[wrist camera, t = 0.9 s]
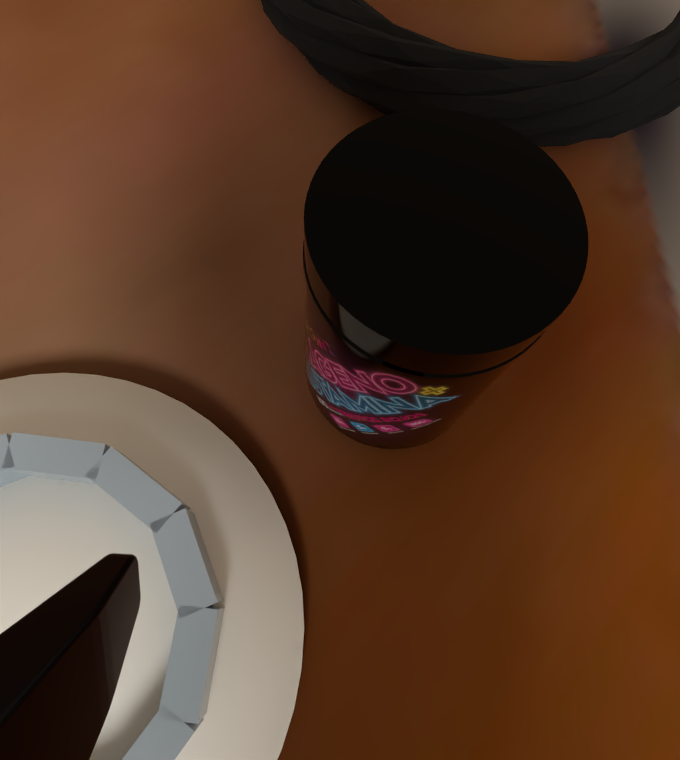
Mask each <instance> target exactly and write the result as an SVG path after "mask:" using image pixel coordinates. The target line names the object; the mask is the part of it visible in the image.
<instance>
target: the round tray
mask: <svg viewBox="0 0 680 760" xmlns="http://www.w3.org/2000/svg"><path fill="white" fill-rule="evenodd" d="M111 553H119V554H133V555H134V556H136V557H137V560H138V566H139V579H140V592H141V599H140V606H139V611H138V615H137V618H136V621H135V625H134V628H133V632H132V635H131V639H130V642H129V646H128V649H127V652H126V656H125V659H124V663H123V666H122V670H121V673H120V677H119V680H118V683H117V687H116V690H115V694H114V697H113V700H112V703H111V706H110V709H109V712H108V715H107V717H106V720H105V722H104V725H103V728H102V730H101V732H100V735H99V737H98V740H97V742H96V745H95V747H94V749H93V752H92V754H91V757H90V759H89V760H277V759H278V757H279V755H280V752H281V750H282V747H283V744H284V740H285V737H286V734H287V731H288V727H289V724H290V721H291V718H292V714H293V711H294V707H295V702H296V696H297V691H298V686H299V680H300V675H301V669H302V655H303V640H304V612H303V594H302V586H301V581H300V575H299V570H298V564H297V559H296V555H295V551H294V548H293V545H292V542H291V539H290V536H289V533H288V529H287V526H286V524H285V521H284V519H283V517H282V515H281V513H280V511H279V508H278V506H277V504H276V502H275V500H274V498H273V496H272V494H271V492H270V490H269V489H268V487H267V485H266V484H265V482H264V481H263V479H262V478H261V476H260V475H259V473H258V472H257V470H256V468H255V467H254V465H253V464H252V463H251V462H250V461H249V459H248V458H247V457H246V456H245V455H244V454H243V452H242V451H241V450H240V449H239V448H238V447H237V445H236V444H235V443H234V442H233V441H232V440H231V439H230V438H229V437H228V436H226V435H225V434H224V433H223V432H222V431H221V430H220V429H218V428H217V427H216V426H215V425H214V424H213V423H212V422H211V421H209V420H208V419H206V418H205V417H203V416H202V415H200V414H199V413H197V412H196V411H194V410H193V409H191V408H190V407H188V406H187V405H185V404H184V403H182V402H180V401H178V400H175V399H173V398H171V397H169V396H167V395H165V394H163V393H161V392H159V391H157V390H154V389H151V388H148V387H145V386H142V385H139V384H136V383H133V382H130V381H126V380H121V379H116V378H111V377H106V376H100V375H93V374H77V373H50V374H32V375H26V376H20V377H14V378H9V379H3V380H0V634H1V633H2V632H4V631H5V630H6V629H8V628H9V627H10V626H12V625H13V624H14V623H16V622H17V621H18V620H20V619H21V618H22V617H24V616H25V615H26V614H28V613H29V612H31V611H32V610H33V609H35V608H36V607H37V606H39V605H40V604H41V603H43V602H44V601H45V600H47V599H48V598H49V597H51V596H52V595H53V594H55V593H56V592H58V591H59V590H60V589H62V588H63V587H64V586H66V585H67V584H68V583H70V582H71V581H72V580H74V579H75V578H76V577H78V576H79V575H80V574H82V573H83V572H85V571H86V570H87V569H89V568H90V567H91V566H93V565H94V564H95V563H97V562H98V561H99V560H101V559H102V558H103V557H105V556H106V555H108V554H111Z"/></svg>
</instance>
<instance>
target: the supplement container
mask: <svg viewBox="0 0 680 760" xmlns="http://www.w3.org/2000/svg"><path fill="white" fill-rule="evenodd" d="M587 257H588V231H587V225H586V220H585V216H584V212H583V209H582V206H581V204H580V201H579V199H578V196H577V194H576V192H575V190H574V189H573V187H572V185H571V183H570V182H569V180H568V179H567V177H566V176H565V174H564V173H563V171H562V170H561V169H560V168H559V167H558V165H557V164H556V163H555V162H554V161H553V160H552V159H551V158H550V157H549V156H548V155H547V154H546V153H545V152H544V151H543V150H542V149H541V148H539V147H538V146H537V145H536V144H535V143H533V142H532V141H530V140H529V139H527V138H526V137H525V136H523V135H521V134H520V133H518V132H516V131H515V130H513V129H511V128H509V127H507V126H505V125H503V124H501V123H498V122H496V121H493V120H491V119H488V118H485V117H482V116H479V115H475V114H471V113H467V112H462V111H455V110H448V109H417V110H409V111H403V112H398V113H394V114H390V115H387V116H384V117H381V118H378V119H376V120H373V121H371V122H369V123H367V124H365V125H363V126H361V127H359V128H358V129H356V130H354V131H353V132H351V133H350V134H348V135H347V136H346V137H345V138H343V139H342V140H341V141H340V142H339V143H338V144H337V145H336V146H335V147H334V148H333V149H332V150H331V151H330V152H329V153H328V154H327V156H326V157H325V158H324V159H323V161H322V162H321V164H320V165H319V167H318V169H317V170H316V172H315V174H314V177H313V179H312V181H311V183H310V186H309V190H308V193H307V197H306V202H305V209H304V243H303V267H304V274H305V280H306V375H307V381H308V385H309V389H310V392H311V395H312V397H313V399H314V401H315V403H316V405H317V407H318V408H319V410H320V411H321V413H322V414H323V415H324V417H325V418H326V419H327V420H328V421H329V422H330V423H331V424H332V425H333V426H334V427H335V428H336V429H338V430H339V431H340V432H341V433H343V434H345V435H346V436H348V437H349V438H351V439H353V440H355V441H357V442H360V443H362V444H365V445H369V446H372V447H377V448H383V449H404V448H410V447H415V446H418V445H421V444H424V443H427V442H429V441H431V440H433V439H435V438H436V437H438V436H440V435H441V434H443V433H444V432H445V431H446V430H448V429H449V428H450V427H451V426H452V425H453V424H454V423H455V422H456V421H457V420H458V419H459V418H460V417H461V415H462V414H463V413H464V412H465V411H466V410H467V409H468V408H469V407H470V406H471V405H472V404H473V403H474V402H475V401H476V400H477V399H478V398H479V397H480V396H481V395H482V394H483V393H484V392H485V391H486V389H487V388H488V387H489V386H490V385H491V384H492V383H493V382H494V381H495V380H496V379H497V378H498V377H499V376H500V375H501V374H502V373H503V372H504V371H505V370H506V369H507V368H508V367H509V366H510V365H511V363H512V362H513V361H514V360H516V359H517V358H518V357H520V356H521V355H522V354H523V353H525V352H526V351H527V350H528V349H529V348H530V347H531V346H532V345H533V344H534V343H535V342H536V341H537V340H538V339H539V338H540V337H541V335H542V334H543V333H544V332H545V330H546V329H547V328H548V327H549V326H550V325H551V324H552V323H553V322H554V321H555V320H556V319H557V318H558V317H559V316H560V315H561V314H562V312H563V311H564V310H565V309H566V307H567V306H568V305H569V304H570V302H571V300H572V299H573V297H574V295H575V294H576V292H577V290H578V288H579V286H580V283H581V281H582V278H583V275H584V272H585V268H586V263H587Z"/></svg>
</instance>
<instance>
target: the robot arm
mask: <svg viewBox="0 0 680 760" xmlns="http://www.w3.org/2000/svg"><path fill="white" fill-rule="evenodd" d="M140 599H141V592H140V579H139V566H138V560H137V557H136V556H134V555H133V554H119V553H111V554H108V555H106V556H105V557H103V558H102V559H101V560H99V561H98V562H97V563H95V564H94V565H93V566H91V567H90V568H89V569H87V570H86V571H85V572H83V573H82V574H80V575H79V576H78V577H76V578H75V579H74V580H72V581H71V582H70V583H68V584H67V585H66V586H64V587H63V588H62V589H60V590H59V591H58V592H56V593H55V594H53V595H52V596H51V597H49V598H48V599H47V600H45V601H44V602H43V603H41V604H40V605H39V606H37V607H36V608H35V609H33V610H32V611H31V612H29V613H28V614H26V615H25V616H24V617H22V618H21V619H20V620H18V621H17V622H16V623H14V624H13V625H12V626H10V627H9V628H8V629H6V630H5V631H4V632H2V633H1V634H0V760H89V759H90V757H91V754H92V752H93V749H94V747H95V745H96V742H97V740H98V737H99V735H100V732H101V730H102V728H103V725H104V722H105V720H106V717H107V715H108V712H109V709H110V706H111V703H112V700H113V697H114V694H115V690H116V687H117V683H118V680H119V677H120V673H121V670H122V666H123V663H124V659H125V656H126V652H127V649H128V646H129V642H130V639H131V635H132V632H133V628H134V625H135V621H136V618H137V615H138V611H139V606H140Z"/></svg>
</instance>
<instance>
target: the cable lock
mask: <svg viewBox="0 0 680 760" xmlns="http://www.w3.org/2000/svg"><path fill="white" fill-rule="evenodd" d="M261 1H262V5H263V8H264V12H265V13H266V14H267V16H268V17H269V19H270V20H271V21H272V23H273V24H274V26H275V27H276V28H277V30H278V31H279V33H280V34H281V35H283V36H284V37H285V38H287V39H288V40H289V41H291V42H292V43H293V44H295V45H296V46H297V48H298V49H299V50H300V51H301V53H302V54H303V55H304V56H305V57H306V59H307V60H308V61H309V62H310V63H311V65H312V66H313V67H314V68H315V69H316V71H317V72H318V73H319V74H320V75H322V76H323V77H325V78H326V79H327V80H329V81H330V82H331V83H333V84H334V85H335V86H337V87H338V88H340V89H341V90H342V91H345V92H347V93H350V94H352V95H355V96H357V97H359V98H360V99H362V100H364V101H365V102H367V103H369V104H370V105H372V106H374V107H375V108H377V109H379V110H381V111H382V112H384V113H386V114H387V115H390V114H394V113H398V112H403V111H409V110H417V109H448V110H455V111H462V112H467V113H471V114H475V115H479V116H482V117H485V118H488V119H491V120H493V121H496V122H498V123H501V124H503V125H505V126H507V127H509V128H511V129H513V130H515V131H516V132H518V133H520V134H521V135H523V136H525V137H526V138H527V139H529V140H530V141H532V142H533V143H535V144H536V145H537V146H566V145H569V144H573V143H577V142H580V141H584V140H588V139H599V138H610V137H614V136H616V135H619V134H621V133H624V132H626V131H628V130H631V129H633V128H636V127H638V126H641V125H643V124H645V123H648V122H650V121H653V120H655V119H658V118H660V117H662V116H665V115H667V114H669V113H670V112H672V111H673V110H674V109H676V108H677V107H679V106H680V11H679V12H678V14H677V16H676V17H675V19H674V20H673V22H672V23H671V24H670V25H668V26H667V27H666V28H665V29H664V30H662V31H660V32H658V33H656V34H654V35H652V36H650V37H647V38H645V39H643V40H641V41H639V42H637V43H634V44H633V45H630V46H628V47H626V48H624V49H621V50H617V51H613V52H610V53H606V54H602V55H599V56H595V57H592V58H588V59H584V60H581V61H577V62H563V61H524V60H514V59H508V58H502V57H496V56H490V55H485V54H480V53H475V52H469V51H464V50H459V49H455V48H452V47H449V46H447V45H444V44H442V43H439V42H437V41H434V40H432V39H429V38H427V37H425V36H422V35H420V34H417V33H415V32H412V31H410V30H407V29H405V28H402V27H400V26H397V25H395V24H393V23H392V22H390V21H389V20H388V19H387V18H385V17H384V16H383V15H381V14H380V13H379V12H378V11H376V10H375V9H374V8H373V7H371V6H370V5H369V4H367V3H366V2H365V1H364V0H261Z"/></svg>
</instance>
